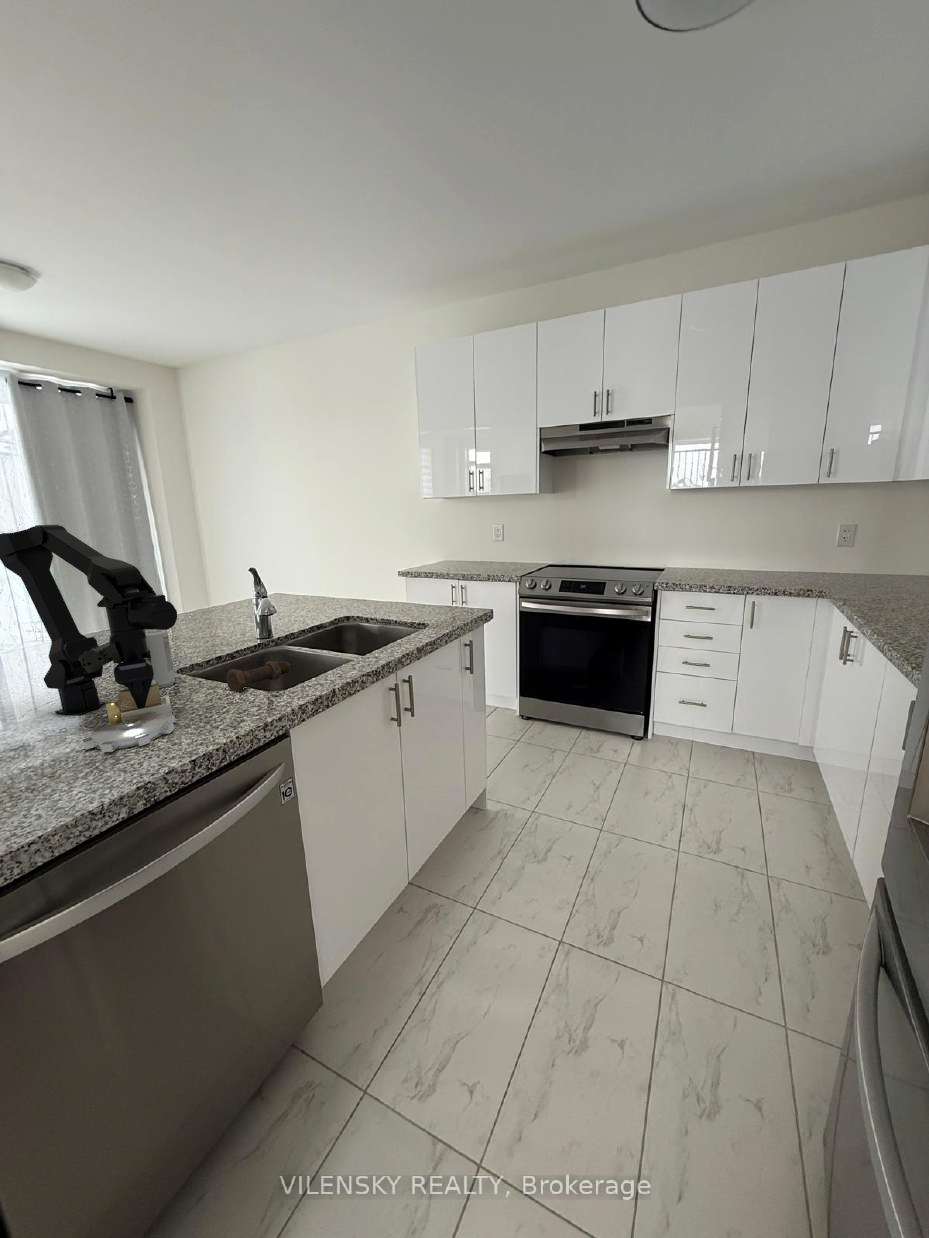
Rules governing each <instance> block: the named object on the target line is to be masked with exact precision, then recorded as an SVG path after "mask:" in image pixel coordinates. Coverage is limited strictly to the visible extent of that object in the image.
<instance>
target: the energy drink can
mask: <svg viewBox="0 0 929 1238" xmlns="http://www.w3.org/2000/svg"><path fill="white" fill-rule="evenodd" d="M145 634H146V640H147V646H148V647H149V649H150V654H151V658H149V659H151V662H152V666H153V672H154V677H153V680H156V682H158V685H159V689H163V688H168V687H171V686H173V684H174V682H175V680H176V676H175V675H176V674H175V668H174V663H173V662H174V661H173V658H172V652H171V646H170V640H169V634H168V630H151V629H145ZM144 659H148V658H144Z"/></svg>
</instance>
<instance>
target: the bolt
mask: <svg viewBox="0 0 929 1238" xmlns="http://www.w3.org/2000/svg"><path fill="white" fill-rule="evenodd" d="M290 672H291V664H290V663H289V662H287V661H286V660H281V661H278V662H276V661H272V660H269V661H266V662H265V664H264V666H259V667H257V668H252V669H248V670H246V671H245V670H243V671H242V670H240V669H235V668H233V669H229V671H228V672H227V674H226V683H227V686H228V688H229V689H230V691H231V692H234V693H241V692H244V691H245V687H246V686H248V685H250V684H255V683H257V682H260V681H264V680H271V681H274V680H278V679H279V678H280V677H281V675H285V674H289V673H290ZM243 688H244V689H243Z"/></svg>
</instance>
